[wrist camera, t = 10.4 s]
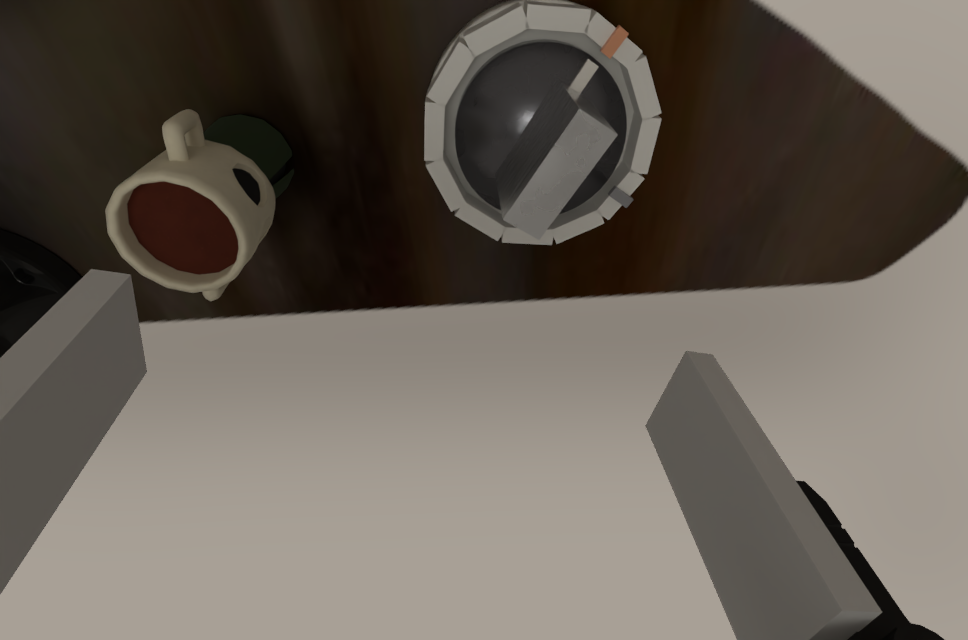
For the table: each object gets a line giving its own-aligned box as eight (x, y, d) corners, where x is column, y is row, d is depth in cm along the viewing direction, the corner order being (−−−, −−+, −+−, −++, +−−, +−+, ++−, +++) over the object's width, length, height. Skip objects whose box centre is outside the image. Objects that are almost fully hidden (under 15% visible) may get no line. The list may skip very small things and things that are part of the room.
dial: (555, 234, 41) (576, 296, 34) (424, 159, 37) (418, 212, 30) (655, 102, 35) (704, 144, 29) (515, -1, 32) (532, 18, 25)
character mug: (309, 227, 43) (262, 324, 32) (215, 222, 42) (135, 319, 32) (293, 79, 37) (228, 138, 26) (182, 71, 36) (70, 128, 25)
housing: (387, 147, 40) (379, 174, 35) (509, -63, 33) (518, -62, 28) (550, 248, 45) (560, 283, 41) (684, 87, 38) (714, 107, 34)
